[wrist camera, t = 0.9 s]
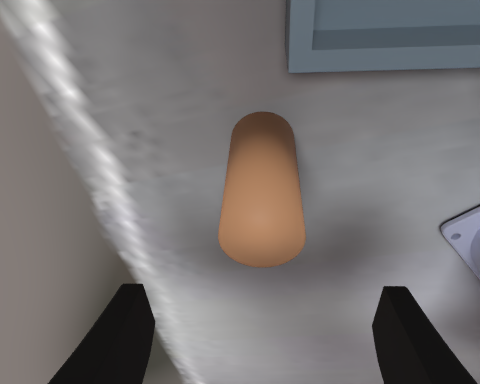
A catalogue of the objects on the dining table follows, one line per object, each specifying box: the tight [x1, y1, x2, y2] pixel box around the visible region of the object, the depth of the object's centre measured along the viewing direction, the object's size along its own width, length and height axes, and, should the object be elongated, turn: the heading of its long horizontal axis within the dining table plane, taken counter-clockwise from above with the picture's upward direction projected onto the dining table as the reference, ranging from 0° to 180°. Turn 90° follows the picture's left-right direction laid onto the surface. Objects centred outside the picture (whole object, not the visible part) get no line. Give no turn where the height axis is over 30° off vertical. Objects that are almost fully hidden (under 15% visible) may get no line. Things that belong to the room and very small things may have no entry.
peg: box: [218, 112, 306, 267], centre depth 17 cm, size 3×3×7 cm
